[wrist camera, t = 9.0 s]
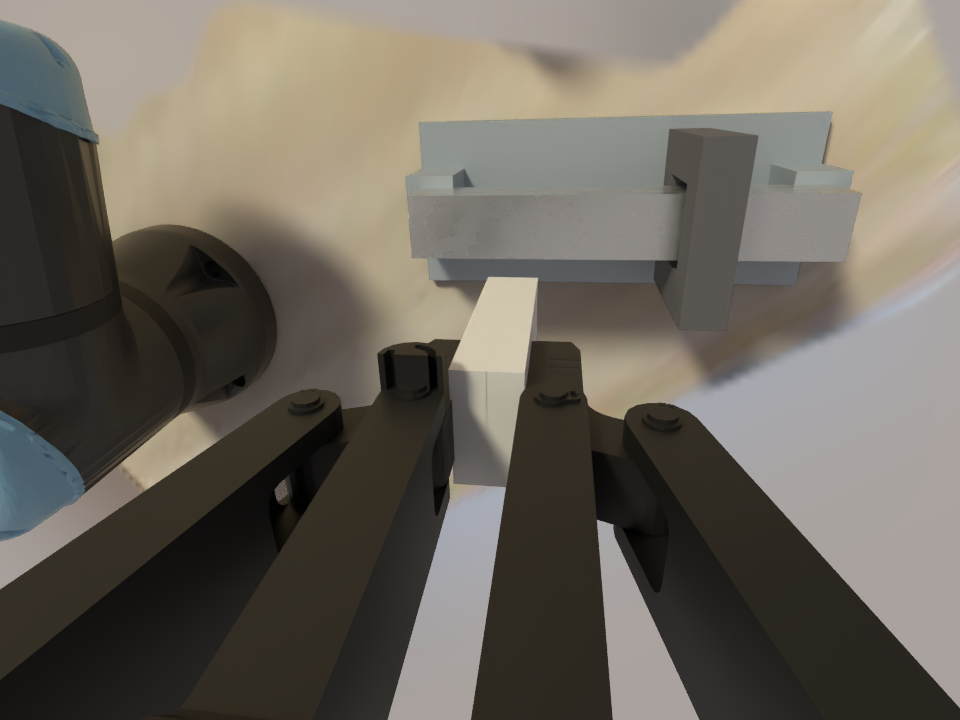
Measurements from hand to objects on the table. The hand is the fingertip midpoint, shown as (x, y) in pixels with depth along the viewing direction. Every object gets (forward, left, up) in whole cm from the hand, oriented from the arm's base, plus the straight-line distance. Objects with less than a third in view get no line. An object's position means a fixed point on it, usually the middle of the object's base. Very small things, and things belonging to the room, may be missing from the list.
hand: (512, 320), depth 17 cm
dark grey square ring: (+9, 0, -23) cm, 24 cm away
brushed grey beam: (+5, 0, -20) cm, 20 cm away
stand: (+5, 0, -25) cm, 25 cm away
